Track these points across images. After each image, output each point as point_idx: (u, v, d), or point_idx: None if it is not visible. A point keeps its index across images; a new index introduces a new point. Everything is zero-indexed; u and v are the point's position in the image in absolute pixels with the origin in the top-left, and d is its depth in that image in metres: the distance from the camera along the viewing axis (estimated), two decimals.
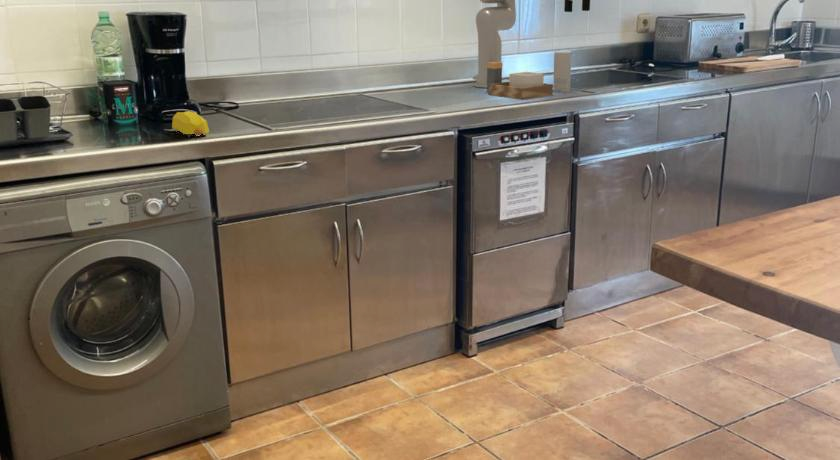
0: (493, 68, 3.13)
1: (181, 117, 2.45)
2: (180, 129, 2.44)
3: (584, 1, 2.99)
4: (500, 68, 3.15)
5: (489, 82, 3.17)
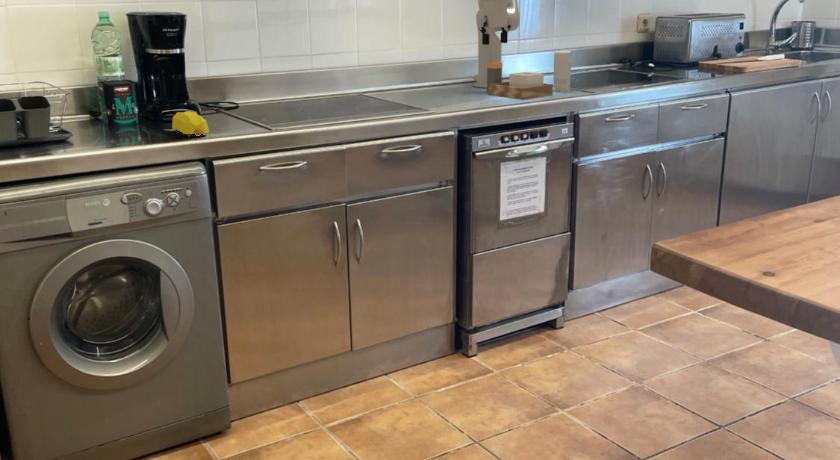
0: (493, 68, 3.13)
1: (181, 117, 2.45)
2: (180, 130, 2.44)
3: (502, 34, 3.15)
4: (500, 68, 3.15)
5: (489, 82, 3.17)
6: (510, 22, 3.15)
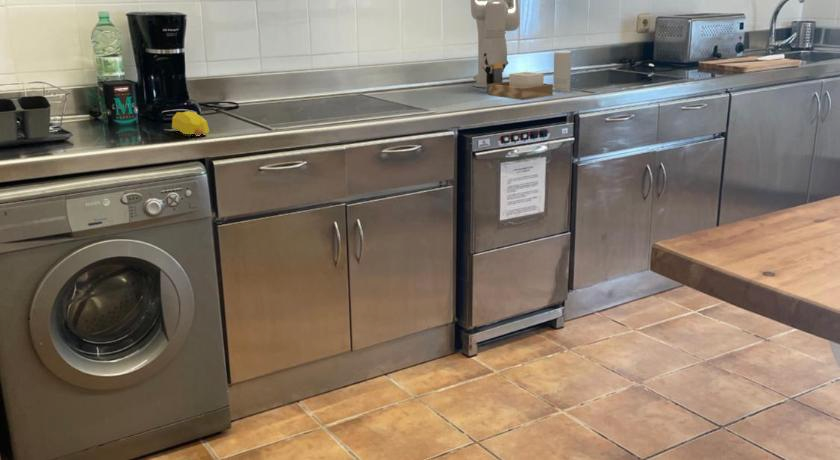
0: (493, 68, 3.13)
1: (181, 117, 2.45)
2: (180, 129, 2.44)
3: None
4: (500, 68, 3.15)
5: None
6: (506, 63, 3.19)
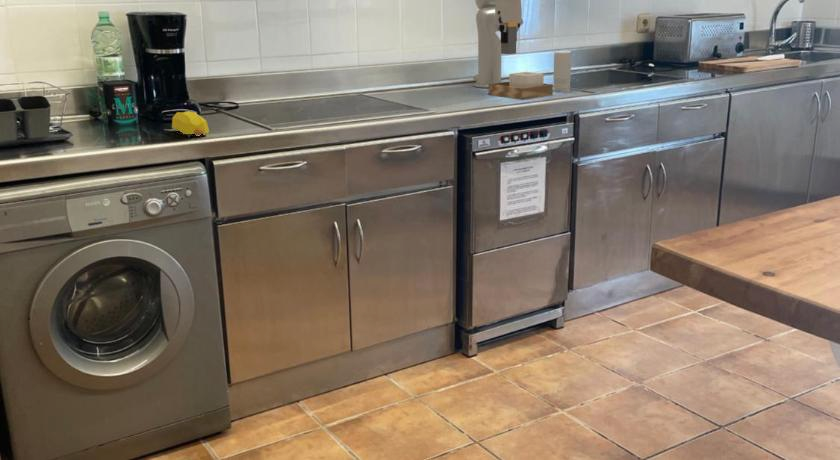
0: (507, 26, 3.05)
1: (181, 117, 2.45)
2: (180, 130, 2.44)
3: None
4: (514, 27, 3.06)
5: None
6: (521, 22, 3.10)
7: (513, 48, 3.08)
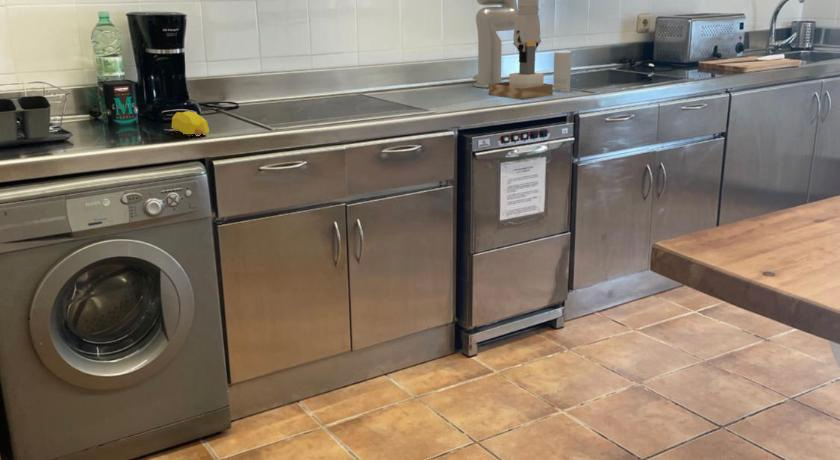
0: (526, 46, 3.02)
1: (181, 117, 2.45)
2: (180, 130, 2.44)
3: None
4: (533, 46, 3.04)
5: None
6: (539, 41, 3.07)
7: (532, 67, 3.06)
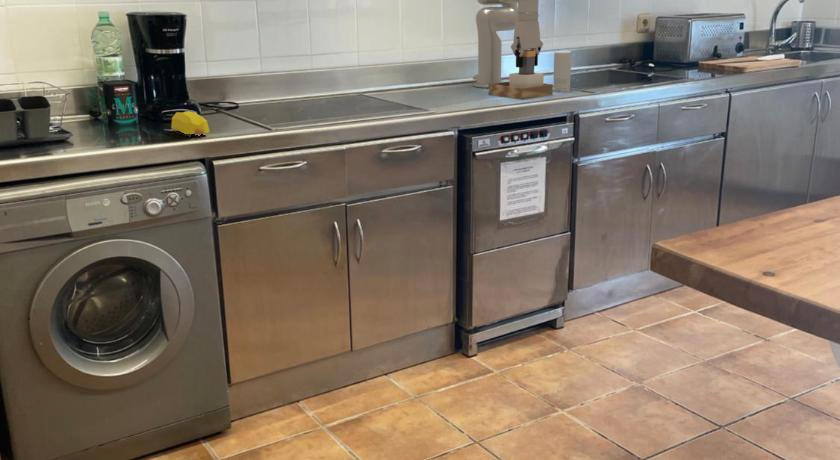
0: (526, 56, 3.03)
1: (181, 117, 2.45)
2: (180, 130, 2.44)
3: None
4: (533, 56, 3.05)
5: (521, 70, 3.07)
6: (541, 45, 3.09)
7: None
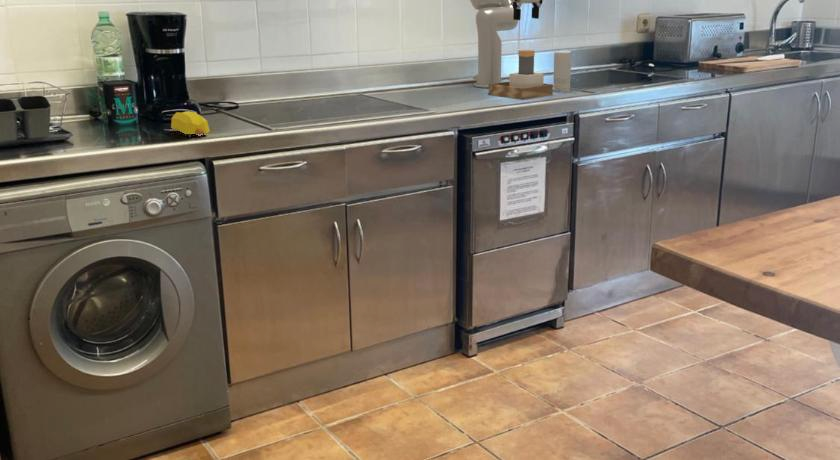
0: (525, 56, 3.04)
1: (182, 117, 2.45)
2: (181, 130, 2.44)
3: (533, 9, 3.11)
4: (532, 56, 3.05)
5: (521, 71, 3.07)
6: None
7: None
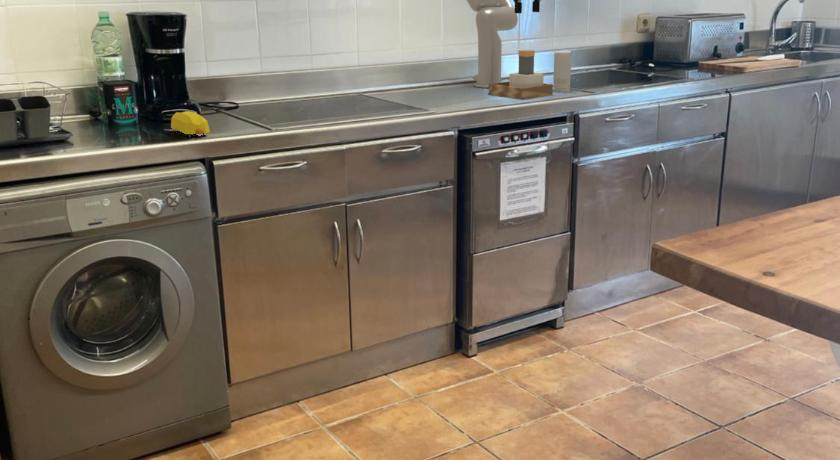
0: (525, 56, 3.04)
1: (182, 117, 2.45)
2: (181, 130, 2.44)
3: (534, 3, 3.13)
4: (532, 56, 3.05)
5: (521, 71, 3.07)
6: None
7: None
